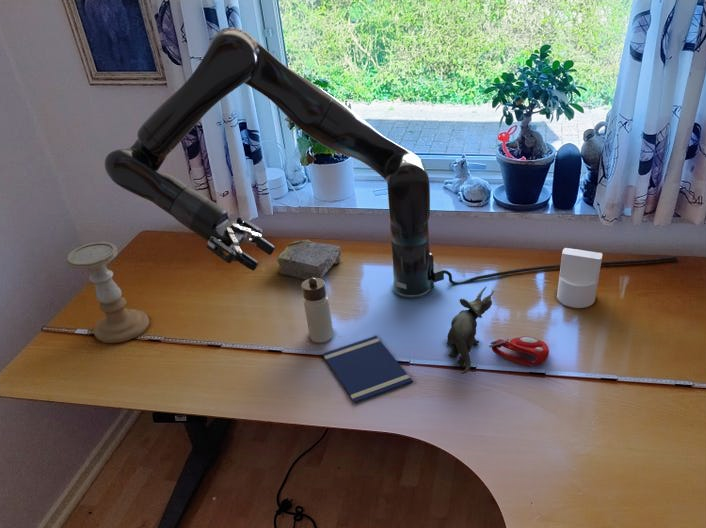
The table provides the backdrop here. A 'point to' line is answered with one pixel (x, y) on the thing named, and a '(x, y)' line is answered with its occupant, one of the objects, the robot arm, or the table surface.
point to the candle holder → (108, 294)
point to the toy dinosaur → (466, 329)
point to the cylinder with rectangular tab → (578, 277)
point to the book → (366, 369)
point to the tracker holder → (522, 349)
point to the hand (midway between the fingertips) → (264, 258)
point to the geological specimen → (308, 259)
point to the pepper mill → (317, 310)
